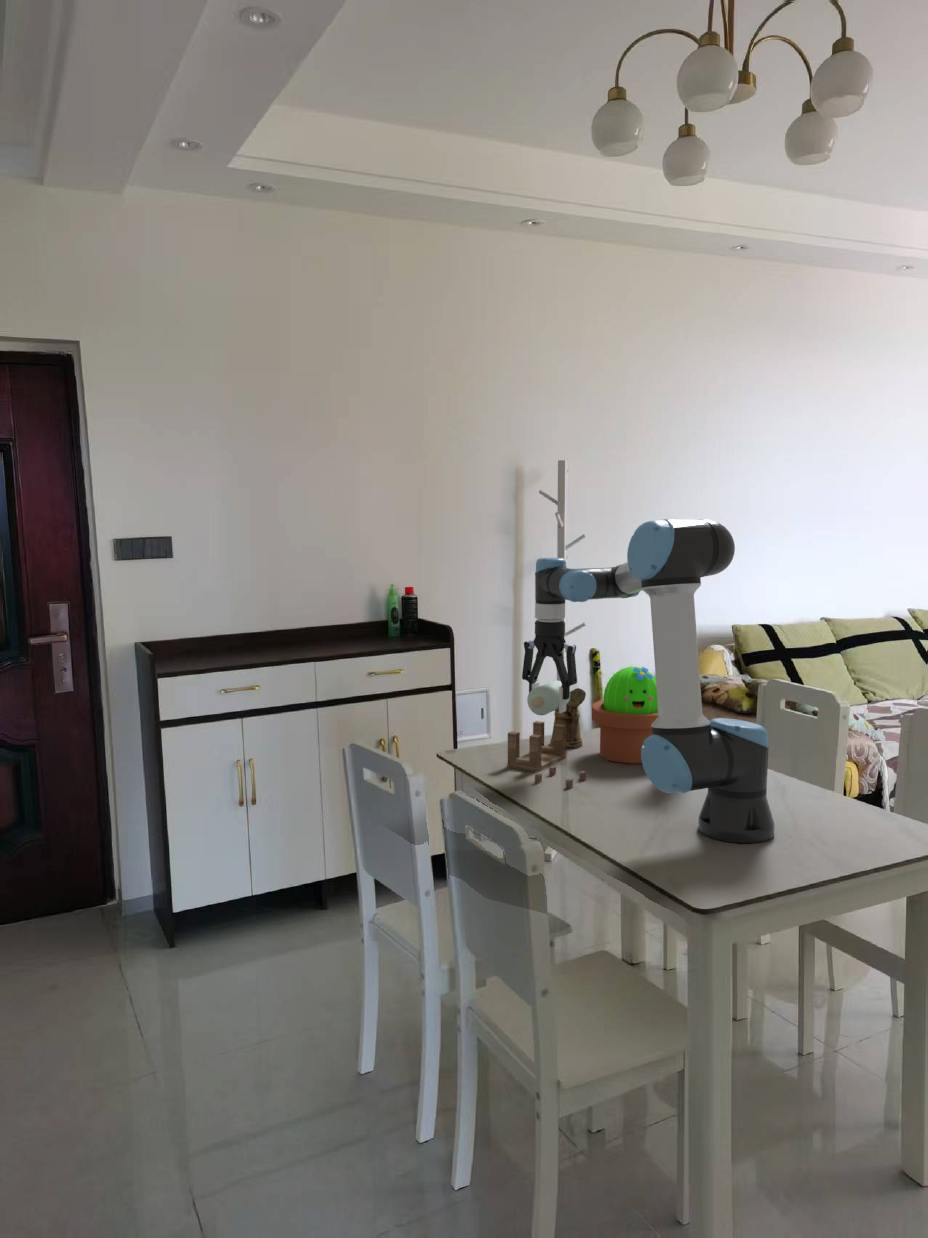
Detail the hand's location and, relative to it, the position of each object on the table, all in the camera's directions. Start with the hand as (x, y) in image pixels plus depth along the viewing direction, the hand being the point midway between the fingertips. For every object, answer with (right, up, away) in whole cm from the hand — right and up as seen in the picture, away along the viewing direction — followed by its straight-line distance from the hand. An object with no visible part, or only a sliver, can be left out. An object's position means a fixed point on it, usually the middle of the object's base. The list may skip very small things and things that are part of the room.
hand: (548, 709), depth 235 cm
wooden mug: (+8, -13, +27) cm, 31 cm away
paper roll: (0, 0, 0) cm, 0 cm away
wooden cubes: (+2, -17, -6) cm, 18 cm away
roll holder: (-2, -15, +11) cm, 19 cm away
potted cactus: (+24, -14, +17) cm, 33 cm away
